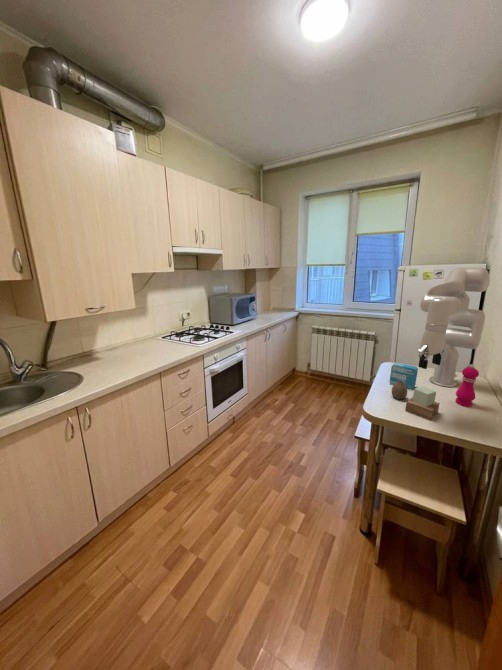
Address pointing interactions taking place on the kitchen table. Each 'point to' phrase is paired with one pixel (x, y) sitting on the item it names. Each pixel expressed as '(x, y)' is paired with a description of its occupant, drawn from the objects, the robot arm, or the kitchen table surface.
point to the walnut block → (422, 409)
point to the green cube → (424, 396)
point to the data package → (403, 374)
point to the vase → (399, 390)
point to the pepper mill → (467, 387)
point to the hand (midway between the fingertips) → (429, 366)
